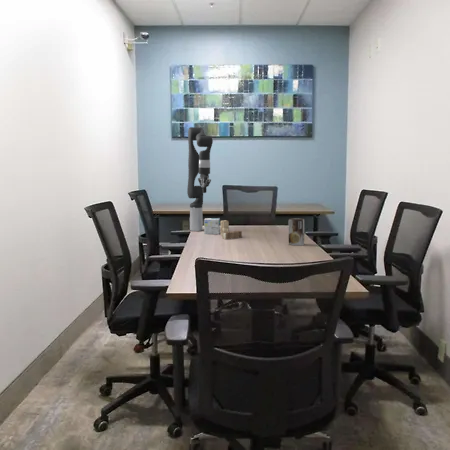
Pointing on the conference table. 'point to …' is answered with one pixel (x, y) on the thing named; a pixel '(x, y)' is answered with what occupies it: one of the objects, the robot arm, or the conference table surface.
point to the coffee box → (296, 231)
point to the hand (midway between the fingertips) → (204, 192)
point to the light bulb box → (211, 225)
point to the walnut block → (231, 234)
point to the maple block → (224, 226)
